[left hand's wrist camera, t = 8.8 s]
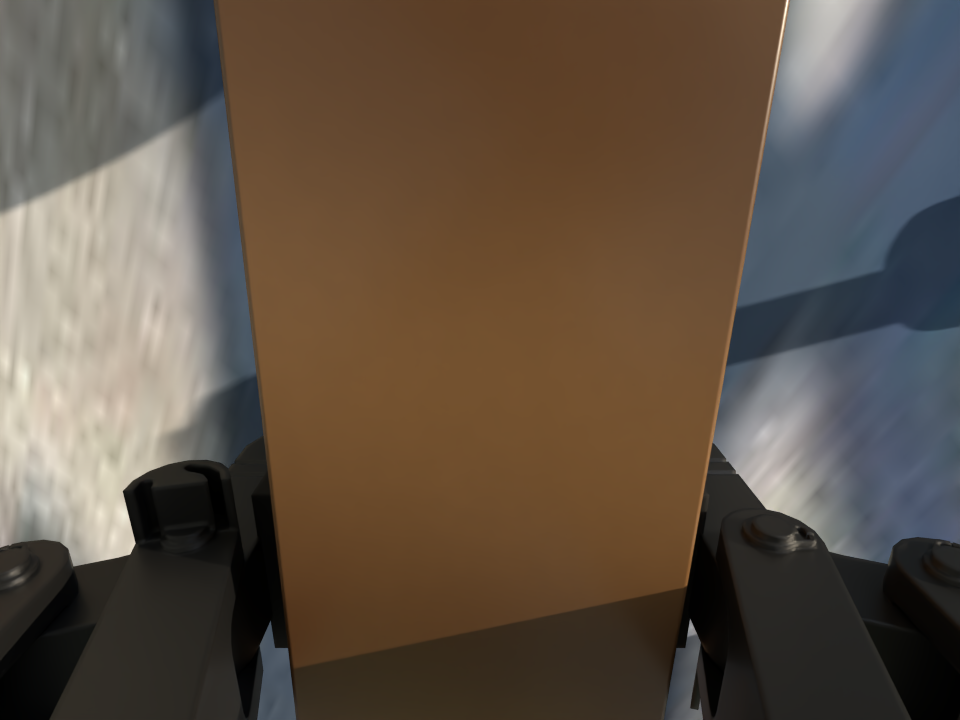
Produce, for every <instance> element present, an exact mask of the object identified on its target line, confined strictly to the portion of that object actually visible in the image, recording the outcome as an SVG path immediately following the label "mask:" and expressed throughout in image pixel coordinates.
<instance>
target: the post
mask: <svg viewBox="0 0 960 720" xmlns="http://www.w3.org/2000/svg"><path fill="white" fill-rule="evenodd" d="M789 3H790V0H214V9H215V17H216V26H217V35H218V43H219V52H220V61H221V69H222V78H223V87H224V96H225V104H226V113H227V122H228V130H229V139H230V148H231V156H232V165H233V174H234V182H235V191H236V200H237V208H238V217H239V226H240V234H241V243H242V252H243V261H244V269H245V278H246V287H247V295H248V304H249V313H250V321H251V330H252V339H253V347H254V356H255V365H256V373H257V382H258V391H259V399H260V408H261V417H262V426H263V434H264V443H265V452H266V460H267V469H268V478H269V486H270V495H271V504H272V512H273V521H274V530H275V538H276V547H277V556H278V564H279V573H280V582H281V591H282V599H283V608H284V617H285V625H286V634H287V643H288V651H289V660H290V669H291V677H292V686H293V695H294V703H295V712H296V720H664V715H665V710H666V704H667V698H668V692H669V687H670V681H671V675H672V670H673V664H674V658H675V653H676V647H677V641H678V635H679V630H680V624H681V618H682V613H683V607H684V601H685V596H686V590H687V584H688V579H689V573H690V567H691V561H692V556H693V550H694V544H695V539H696V533H697V527H698V522H699V516H700V510H701V504H702V499H703V493H704V487H705V482H706V476H707V470H708V465H709V459H710V453H711V447H712V442H713V436H714V430H715V425H716V419H717V413H718V408H719V402H720V396H721V391H722V385H723V379H724V373H725V368H726V362H727V356H728V351H729V345H730V339H731V334H732V328H733V322H734V316H735V311H736V305H737V299H738V294H739V288H740V282H741V277H742V271H743V265H744V260H745V254H746V248H747V242H748V237H749V231H750V225H751V220H752V214H753V208H754V203H755V197H756V191H757V185H758V180H759V174H760V168H761V163H762V157H763V151H764V146H765V140H766V134H767V129H768V123H769V117H770V111H771V106H772V100H773V94H774V89H775V83H776V77H777V72H778V66H779V60H780V54H781V49H782V43H783V37H784V32H785V26H786V20H787V15H788V9H789Z"/></svg>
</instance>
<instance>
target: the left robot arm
mask: <svg viewBox="0 0 960 720" xmlns="http://www.w3.org/2000/svg"><path fill="white" fill-rule="evenodd" d="M123 494H124V498H125V502H126V506H127V510H128V514H129V518H130V522H131V526H132V530H133V534H134V538H135V542H136V544H135V546H134V548H133V550H132V552H131V554H130V555H127V556H123V557H119V558H115V559H110V560H105V561H99V562H94V563H89V564H84V565H79V566H74V567H73V563H72V560H71V557H70V553H69V550H68V548H66V547H65V546H64V545H63V544H61V543H60V542H56V541H49V540H37V541H28V542H20V543H15V544H12V545H11V546H9V545H7V546H4V547H1V548H0V720H257V716H258V708H259V700H260V692H261V684H262V676H263V665H262V657H261V652H260V646H259V645H260V643H261V641H262V639H263V636H264V634H265V632H266V630H267V627H268V625H269V623H270V621H271V625H272V631H273V638H274V644H275V648H288V643H287V634H286V625H285V617H284V608H283V599H282V591H281V582H280V573H279V564H278V556H277V547H276V538H275V530H274V521H273V512H272V504H271V495H270V486H269V478H268V469H267V460H266V452H265V443H264V435H263V436H262V437H260V438H259V439H257V440H255V441H254V442H252V443H251V444H249V445H247V446H246V447H245V448H244V450H243V451H242V452H241V454H240V455H239V456H238V457H237V459H236V460H235V464H232V465H231V466H230V467H229V469H228V468H227V467H226V466H224V465H223V464H222V463H218V462H214V461H209V460H188V461H183V462H178V463H173V464H168V465H165V466H163V467H160V468H157V469H154V470H151V471H149V472H147V473H145V474H144V475H142V476H140V477H139V478H137V479H135V480H133V481H132V482H131V483H130V484H129V485H128V486H127V488H126V489H125V490H124V491H123ZM690 619H691V621H692V623H693V626H694V628H695V630H696V632H697V635H698V637H699V639H700V641H701V646H700V652H699V657H698V663H697V669H696V675H695V681H694V687H693V693H692V699H691V706H690V708H691V709H696V710H698V708H699V702H700V699H701V707H702V715H703V720H960V545H959V544H956V543H950V542H949V541H945V540H940V539H930V538H921V537H916V538H909V539H902V540H900V541H899V542H898V543H897V544H895V545H894V546H893V548H892V552H891V555H890V559H889V562H888V564H884V563H879V562H874V561H869V560H864V559H859V558H854V557H849V556H844V555H840V554H836V553H832V552H829V551H828V549H827V547H826V545H825V543H824V542H823V541H822V539H821V538H820V537H819V536H818V534H817V533H816V532H815V531H814V530H813V529H811V528H810V527H808V526H807V525H805V524H804V523H802V522H801V521H799V520H797V519H795V518H792V517H790V516H787V515H785V514H783V513H780V512H775V511H771V510H766V508H765V507H764V506H763V505H762V503H761V502H760V501H759V500H758V498H757V497H756V496H755V495H754V493H753V492H752V491H751V490H750V488H749V487H748V486H747V484H746V483H745V482H744V481H743V479H742V478H741V477H740V476H739V474H736V471H735V469H734V468H733V467H732V466H731V464H730V463H729V462H726V458H725V457H724V456H723V454H722V453H721V452H720V451H719V449H718V448H717V447H716V446H715V444H713V443H712V447H711V453H710V459H709V465H708V470H707V476H706V482H705V487H704V493H703V499H702V504H701V510H700V516H699V522H698V527H697V533H696V539H695V544H694V550H693V556H692V561H691V567H690V573H689V579H688V584H687V590H686V596H685V601H684V607H683V613H682V618H681V624H680V630H679V635H678V641H677V647H676V648H685V646H686V640H687V634H688V628H689V621H690Z"/></svg>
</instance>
